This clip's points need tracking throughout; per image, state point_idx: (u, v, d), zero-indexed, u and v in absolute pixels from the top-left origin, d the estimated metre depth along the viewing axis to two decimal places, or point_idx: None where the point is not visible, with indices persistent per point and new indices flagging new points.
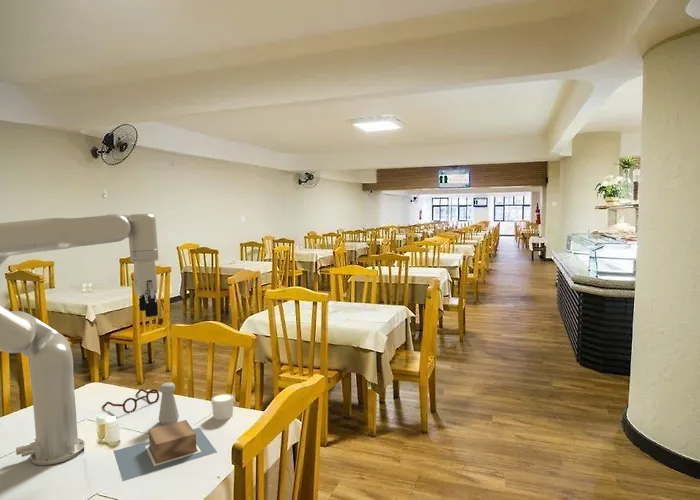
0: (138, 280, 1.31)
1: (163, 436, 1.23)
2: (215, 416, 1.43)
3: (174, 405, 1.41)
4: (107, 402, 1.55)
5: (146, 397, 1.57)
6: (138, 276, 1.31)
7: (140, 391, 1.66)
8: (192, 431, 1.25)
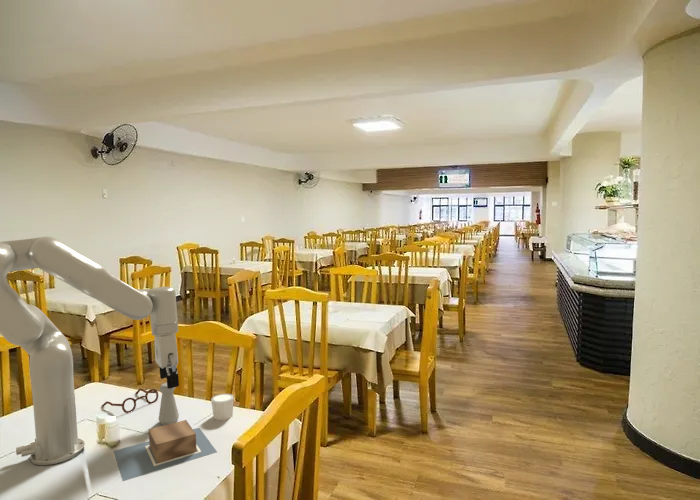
0: (160, 353, 1.36)
1: (163, 436, 1.23)
2: (215, 416, 1.43)
3: (174, 405, 1.41)
4: (106, 402, 1.55)
5: (145, 397, 1.57)
6: (160, 349, 1.36)
7: (138, 391, 1.66)
8: (192, 431, 1.25)
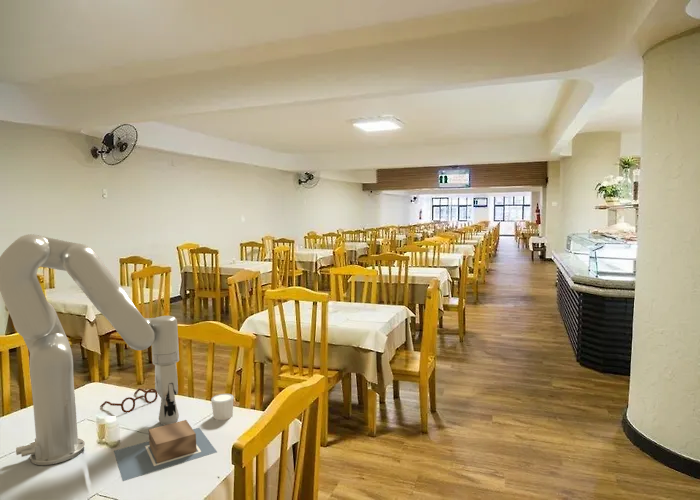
0: (160, 383, 1.37)
1: (163, 436, 1.23)
2: (215, 416, 1.43)
3: None
4: (105, 401, 1.56)
5: (144, 396, 1.57)
6: (160, 379, 1.36)
7: (138, 390, 1.66)
8: (192, 431, 1.25)
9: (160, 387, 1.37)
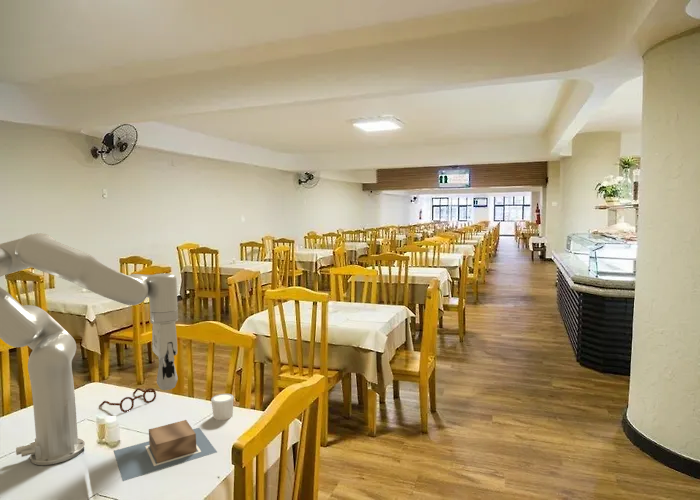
0: (159, 342, 1.30)
1: (163, 436, 1.23)
2: (215, 416, 1.43)
3: None
4: (104, 401, 1.56)
5: (143, 396, 1.57)
6: (159, 338, 1.30)
7: (137, 390, 1.67)
8: (192, 431, 1.25)
9: (159, 346, 1.30)
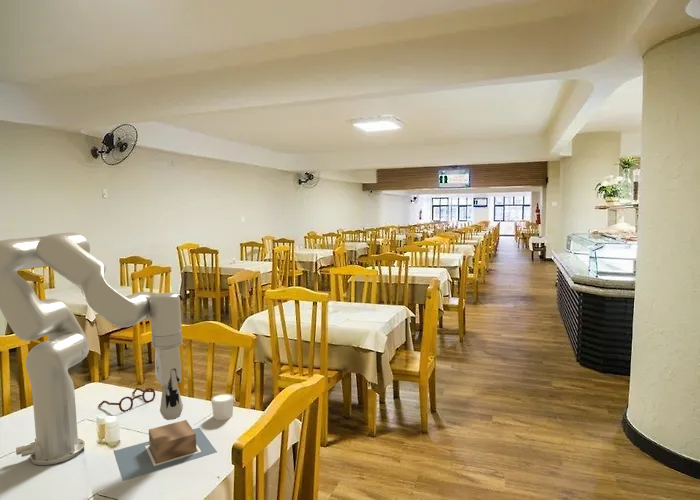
0: (161, 369, 1.19)
1: (163, 436, 1.23)
2: (215, 416, 1.43)
3: None
4: (103, 401, 1.56)
5: (142, 396, 1.58)
6: (161, 364, 1.19)
7: (136, 390, 1.67)
8: (192, 431, 1.25)
9: (161, 373, 1.19)
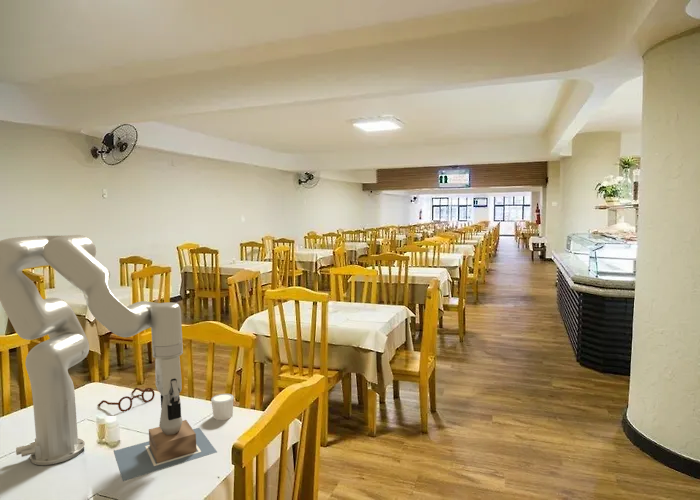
0: (161, 379, 1.19)
1: (163, 436, 1.23)
2: (215, 416, 1.43)
3: None
4: (103, 401, 1.56)
5: (141, 395, 1.58)
6: (161, 374, 1.19)
7: (135, 390, 1.67)
8: (192, 431, 1.25)
9: (161, 383, 1.19)
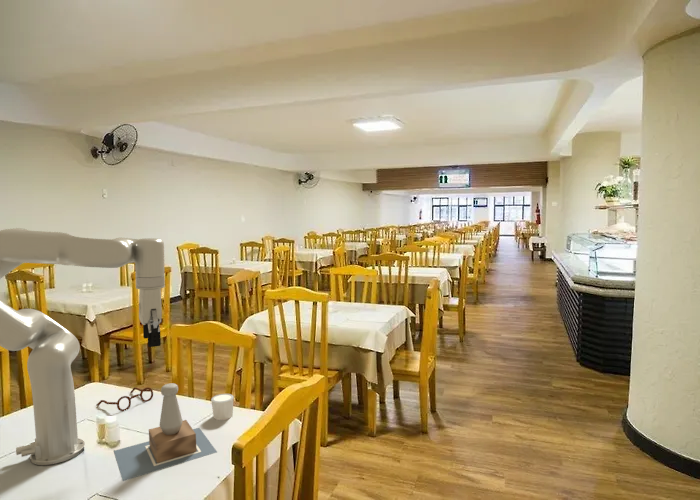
0: (142, 308, 1.26)
1: (163, 436, 1.23)
2: (215, 416, 1.43)
3: (177, 409, 1.24)
4: (101, 400, 1.57)
5: (140, 395, 1.58)
6: (142, 304, 1.26)
7: (134, 389, 1.68)
8: (192, 431, 1.25)
9: (142, 313, 1.26)
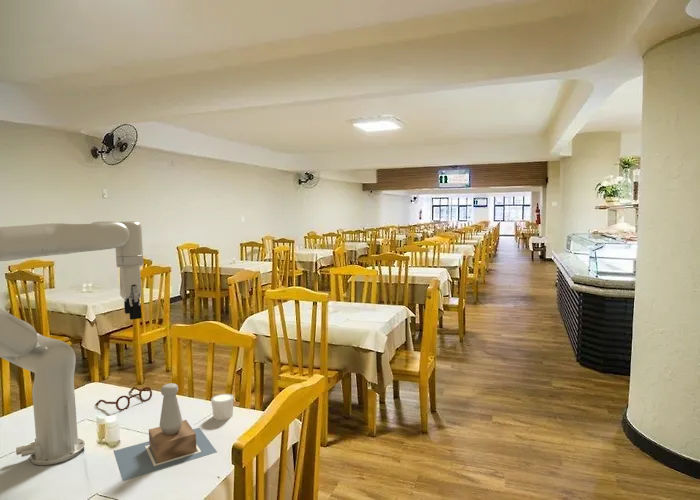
0: (123, 284, 1.38)
1: (163, 436, 1.23)
2: (215, 416, 1.43)
3: (177, 409, 1.24)
4: (100, 400, 1.57)
5: (139, 395, 1.59)
6: (123, 280, 1.38)
7: (133, 389, 1.68)
8: (192, 431, 1.25)
9: (123, 288, 1.38)
